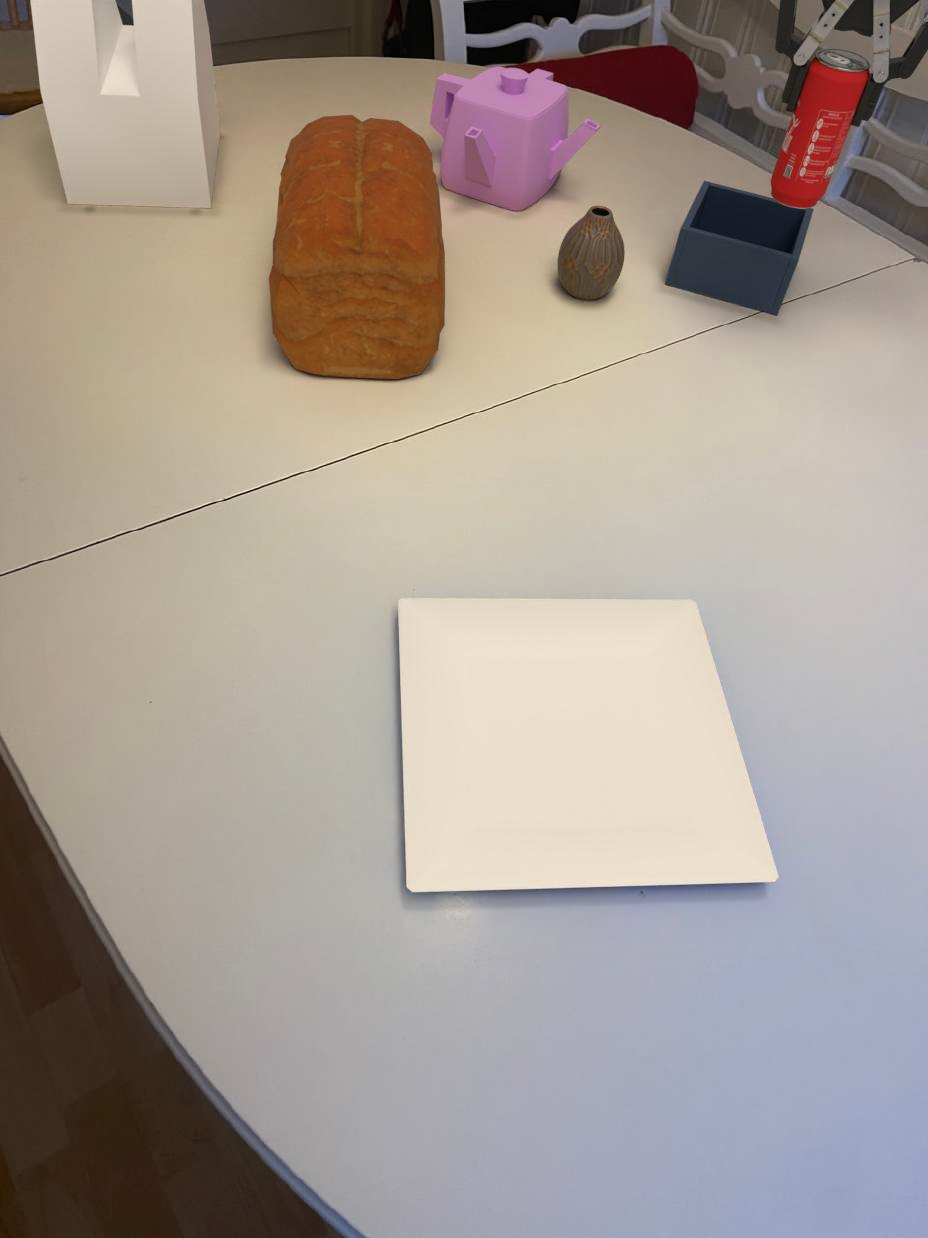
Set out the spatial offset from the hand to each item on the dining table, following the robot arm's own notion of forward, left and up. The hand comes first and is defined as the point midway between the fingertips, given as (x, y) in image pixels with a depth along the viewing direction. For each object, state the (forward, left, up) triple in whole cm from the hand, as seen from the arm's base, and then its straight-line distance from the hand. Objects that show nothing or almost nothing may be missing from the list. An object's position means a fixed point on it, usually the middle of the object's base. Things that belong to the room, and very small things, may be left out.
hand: (822, 114), depth 83 cm
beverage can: (0, 0, -8) cm, 8 cm away
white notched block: (+72, +2, -21) cm, 75 cm away
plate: (+3, +58, -21) cm, 62 cm away
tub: (+4, -10, -21) cm, 23 cm away
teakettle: (+34, -17, -21) cm, 43 cm away
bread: (+38, +16, -21) cm, 46 cm away
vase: (+18, +2, -21) cm, 28 cm away
